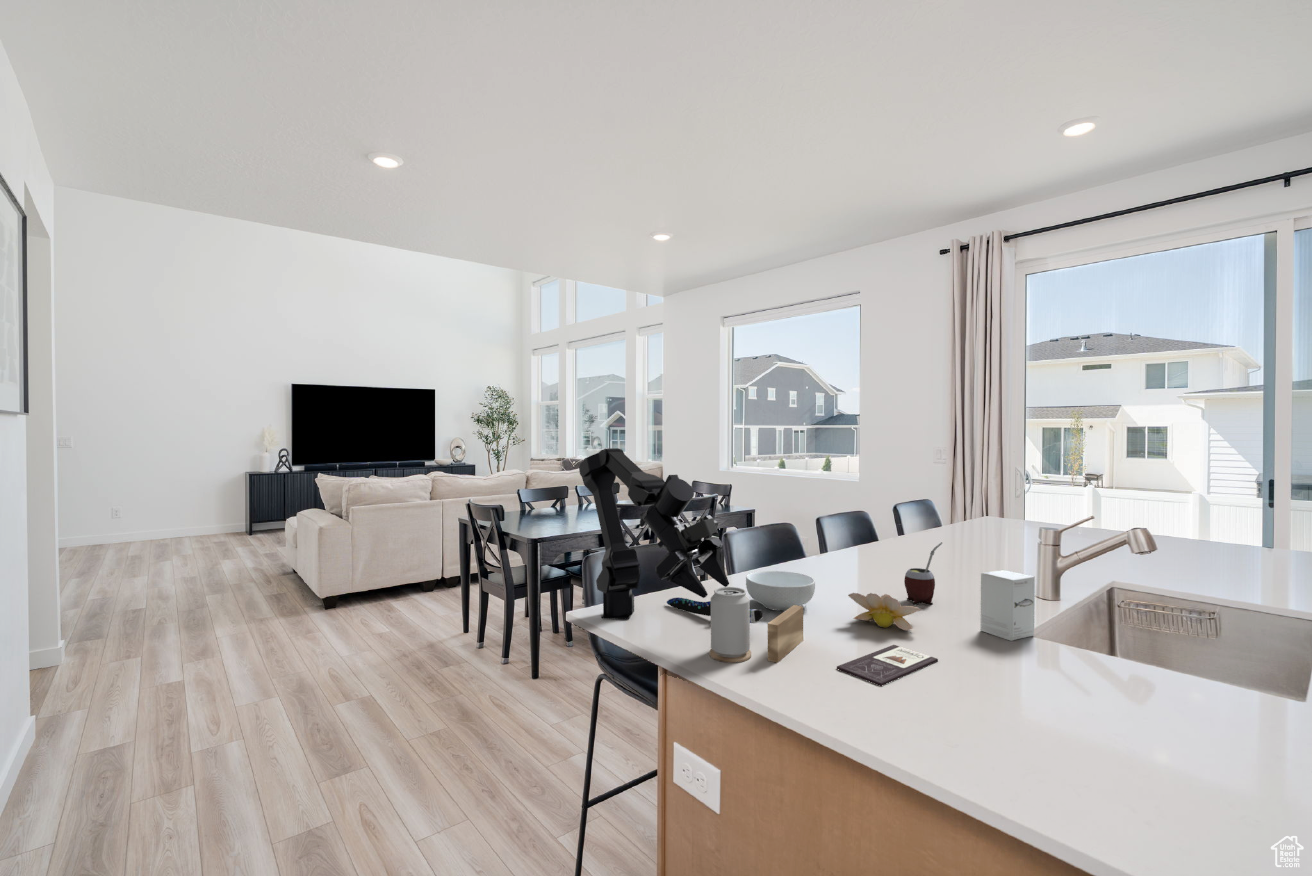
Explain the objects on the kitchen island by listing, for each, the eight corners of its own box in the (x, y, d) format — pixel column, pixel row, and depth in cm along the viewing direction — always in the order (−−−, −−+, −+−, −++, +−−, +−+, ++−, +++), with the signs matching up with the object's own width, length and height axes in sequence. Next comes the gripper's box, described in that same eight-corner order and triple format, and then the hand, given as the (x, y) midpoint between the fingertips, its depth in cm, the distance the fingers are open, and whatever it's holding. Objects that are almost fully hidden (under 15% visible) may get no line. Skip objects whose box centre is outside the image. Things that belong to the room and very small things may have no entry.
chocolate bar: (836, 666, 108) (893, 644, 119) (836, 671, 108) (893, 649, 119) (881, 683, 101) (937, 658, 112) (881, 688, 101) (937, 663, 112)
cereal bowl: (823, 616, 139) (823, 586, 139) (751, 616, 139) (751, 586, 139) (805, 596, 156) (805, 569, 156) (741, 596, 156) (741, 569, 156)
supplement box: (1012, 641, 122) (1012, 579, 121) (979, 630, 128) (979, 572, 128) (1035, 636, 125) (1036, 576, 124) (1002, 625, 131) (1002, 568, 131)
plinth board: (767, 660, 112) (767, 623, 112) (793, 638, 124) (793, 604, 124) (777, 662, 111) (777, 625, 111) (803, 640, 123) (803, 606, 123)
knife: (766, 629, 126) (764, 608, 126) (755, 632, 124) (754, 610, 124) (675, 611, 150) (674, 593, 150) (666, 613, 148) (665, 594, 149)
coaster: (708, 661, 112) (708, 658, 112) (711, 646, 120) (710, 643, 120) (751, 663, 111) (751, 661, 111) (751, 648, 119) (751, 645, 119)
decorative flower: (935, 617, 132) (928, 574, 131) (919, 642, 124) (912, 597, 122) (869, 608, 142) (862, 569, 141) (850, 631, 134) (842, 590, 132)
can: (753, 647, 118) (753, 586, 118) (745, 661, 111) (745, 596, 111) (716, 643, 120) (715, 583, 120) (706, 656, 113) (706, 593, 113)
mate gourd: (899, 602, 150) (899, 542, 150) (913, 596, 155) (913, 538, 155) (929, 608, 144) (929, 546, 144) (943, 602, 150) (943, 542, 149)
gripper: (668, 509, 112) (721, 575, 106) (714, 498, 127) (763, 556, 122) (634, 546, 116) (683, 612, 110) (682, 532, 132) (728, 589, 126)
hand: (717, 590), depth 117 cm, fingers open, 9 cm apart
